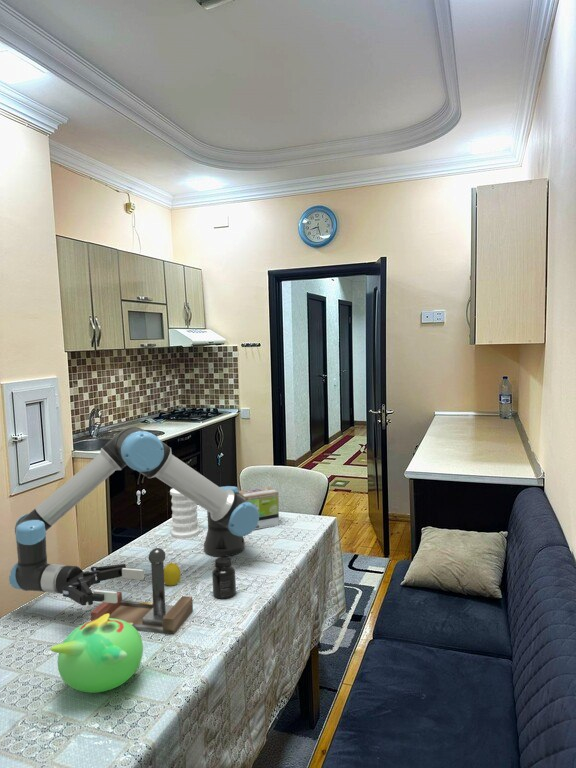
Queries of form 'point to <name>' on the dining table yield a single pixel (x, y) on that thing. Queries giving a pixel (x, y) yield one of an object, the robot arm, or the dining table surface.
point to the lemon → (172, 574)
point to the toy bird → (99, 654)
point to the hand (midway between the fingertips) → (130, 585)
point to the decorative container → (183, 516)
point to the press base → (138, 610)
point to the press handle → (157, 590)
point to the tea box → (264, 505)
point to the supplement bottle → (224, 579)
